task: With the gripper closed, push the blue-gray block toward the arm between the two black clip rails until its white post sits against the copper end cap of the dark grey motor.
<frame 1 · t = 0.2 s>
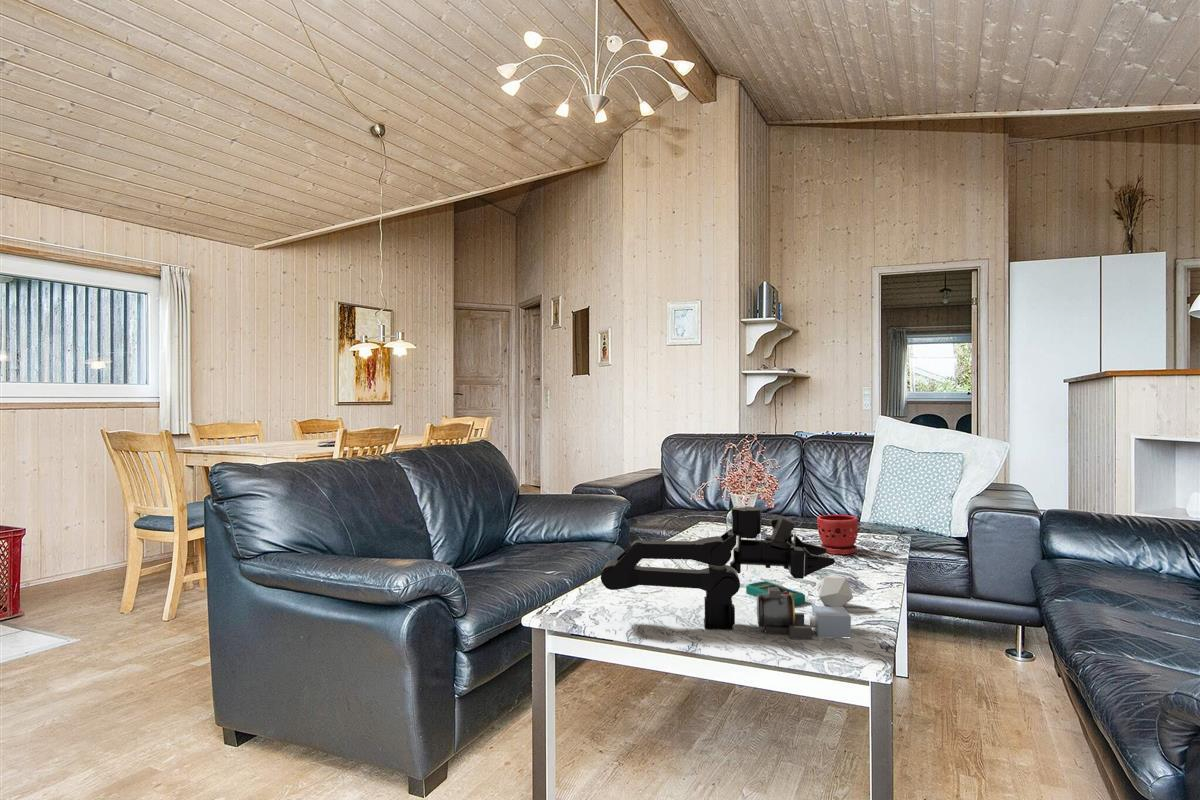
hand: (830, 555, 160), 17 cm above the table, tool horizontal, fingers open, 9 cm apart
blue-gray block: (831, 633, 158), on the table
clip bracket: (799, 631, 159), on the table
motor: (771, 630, 159), on the table
die: (834, 607, 177), on the table
plant pot: (837, 552, 238), on the table
digital multimeter: (775, 600, 185), on the table
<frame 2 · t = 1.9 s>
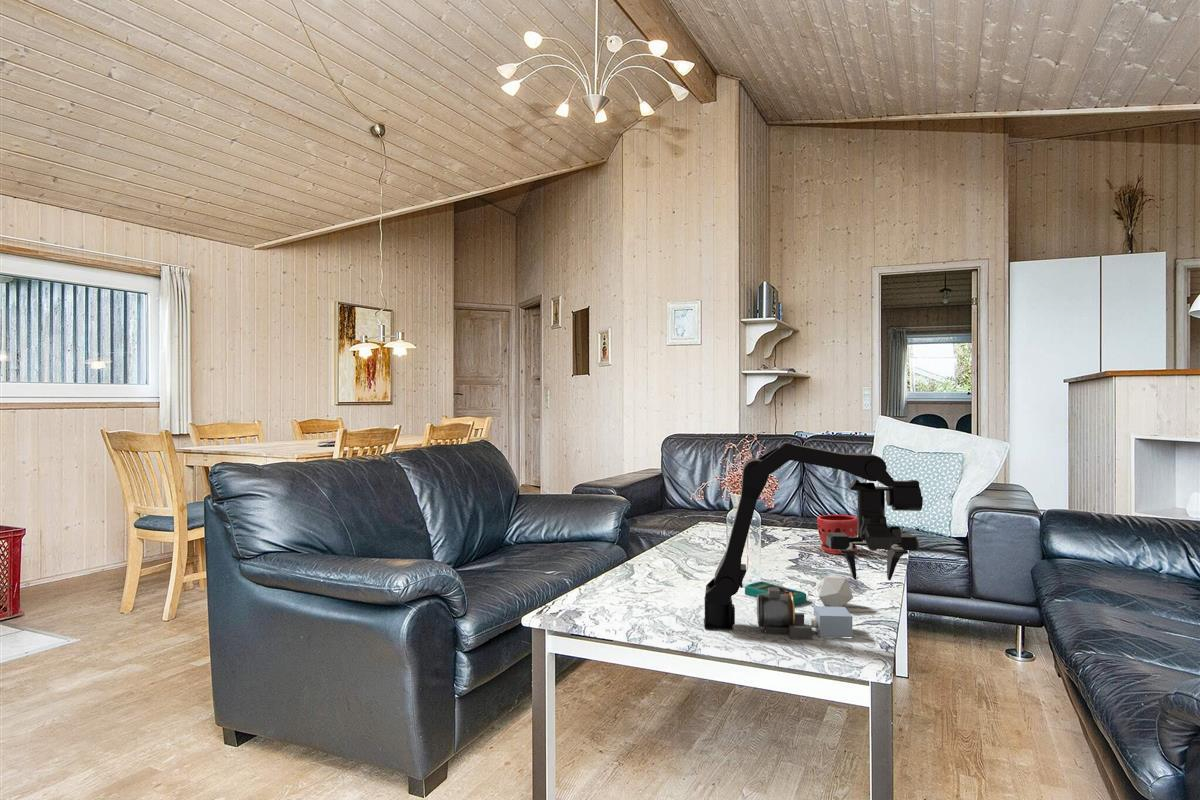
hand: (871, 579, 157), 12 cm above the table, tool pointing down, fingers open, 7 cm apart
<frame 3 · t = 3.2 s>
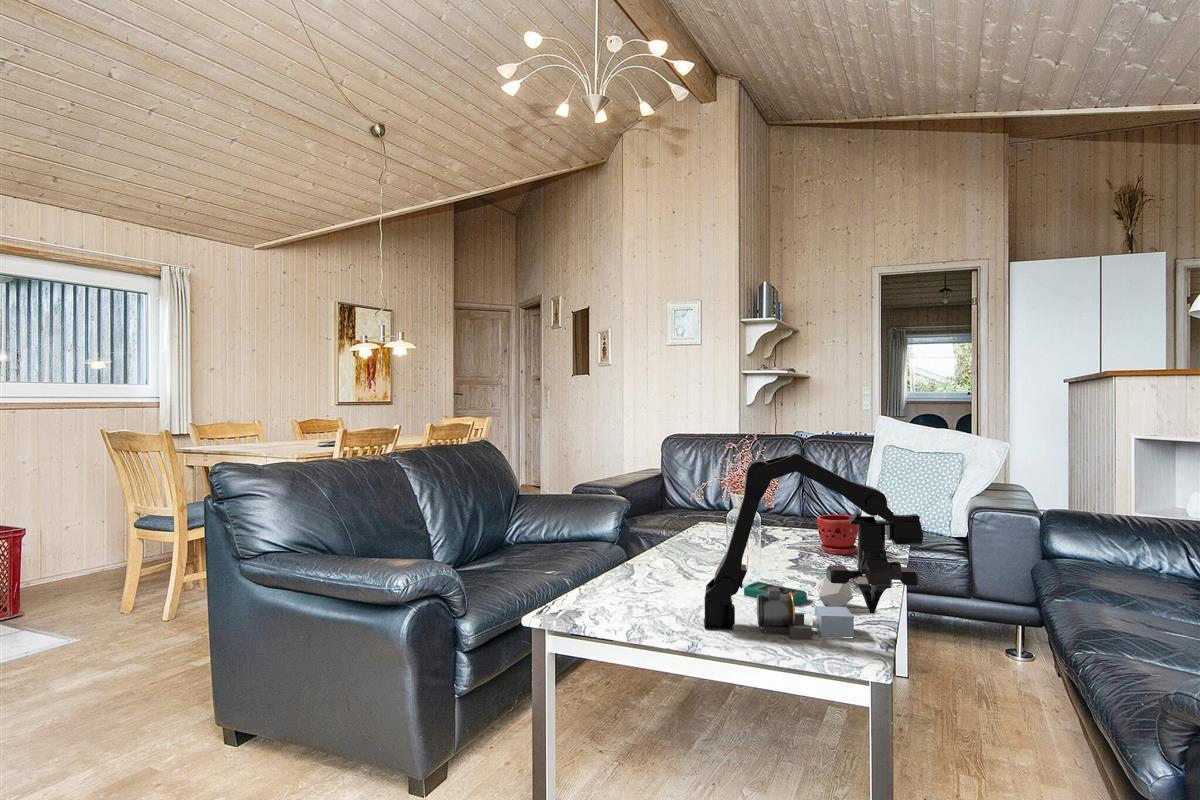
hand: (871, 613, 157), 5 cm above the table, tool pointing down, fingers closed
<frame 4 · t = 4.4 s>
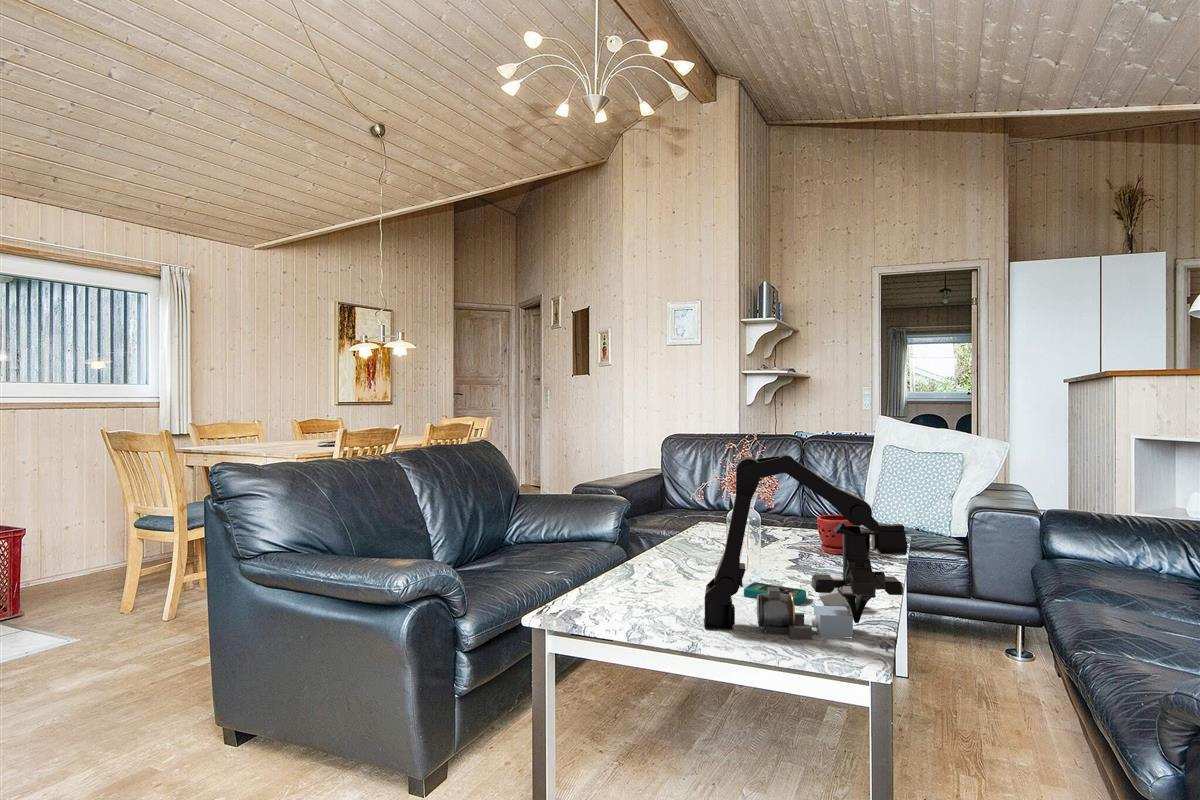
hand: (856, 622, 157), 2 cm above the table, tool pointing down, fingers closed
blue-gray block: (832, 632, 158), on the table, touching gripper
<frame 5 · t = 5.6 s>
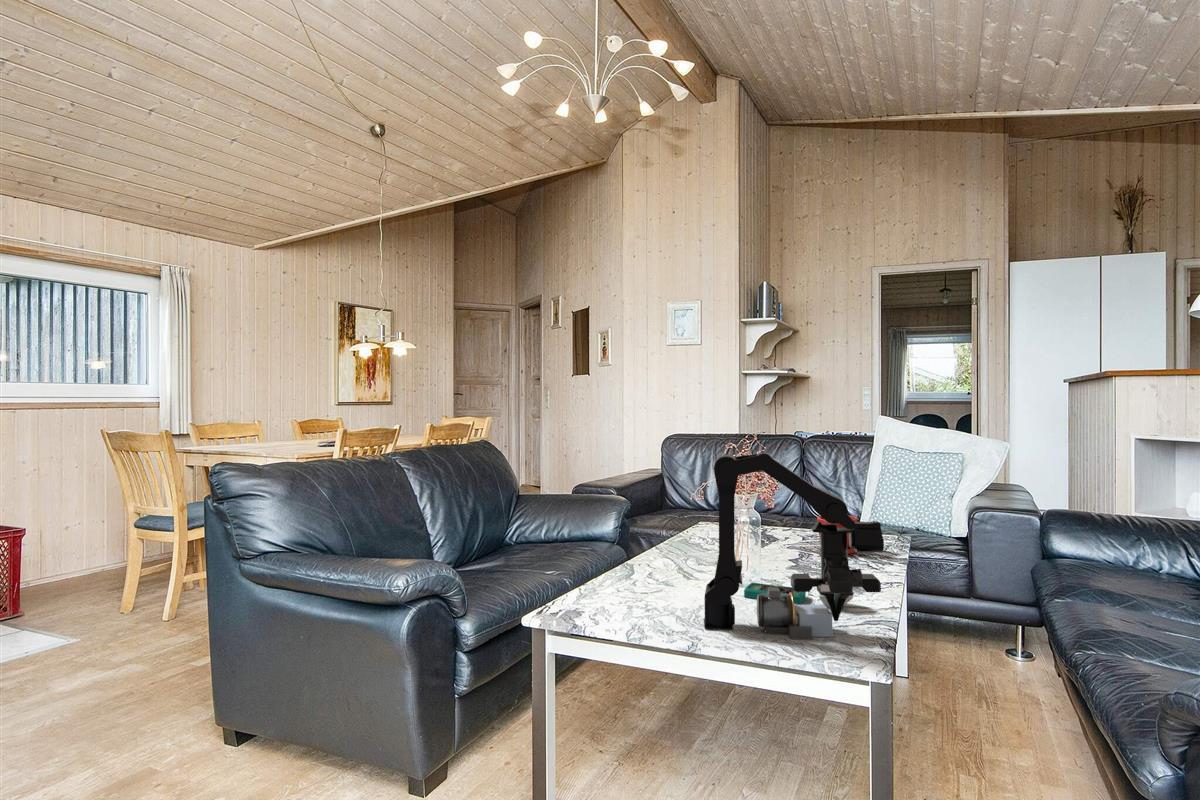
hand: (835, 620, 158), 3 cm above the table, tool pointing down, fingers closed
blue-gray block: (813, 631, 158), on the table, touching gripper, motor
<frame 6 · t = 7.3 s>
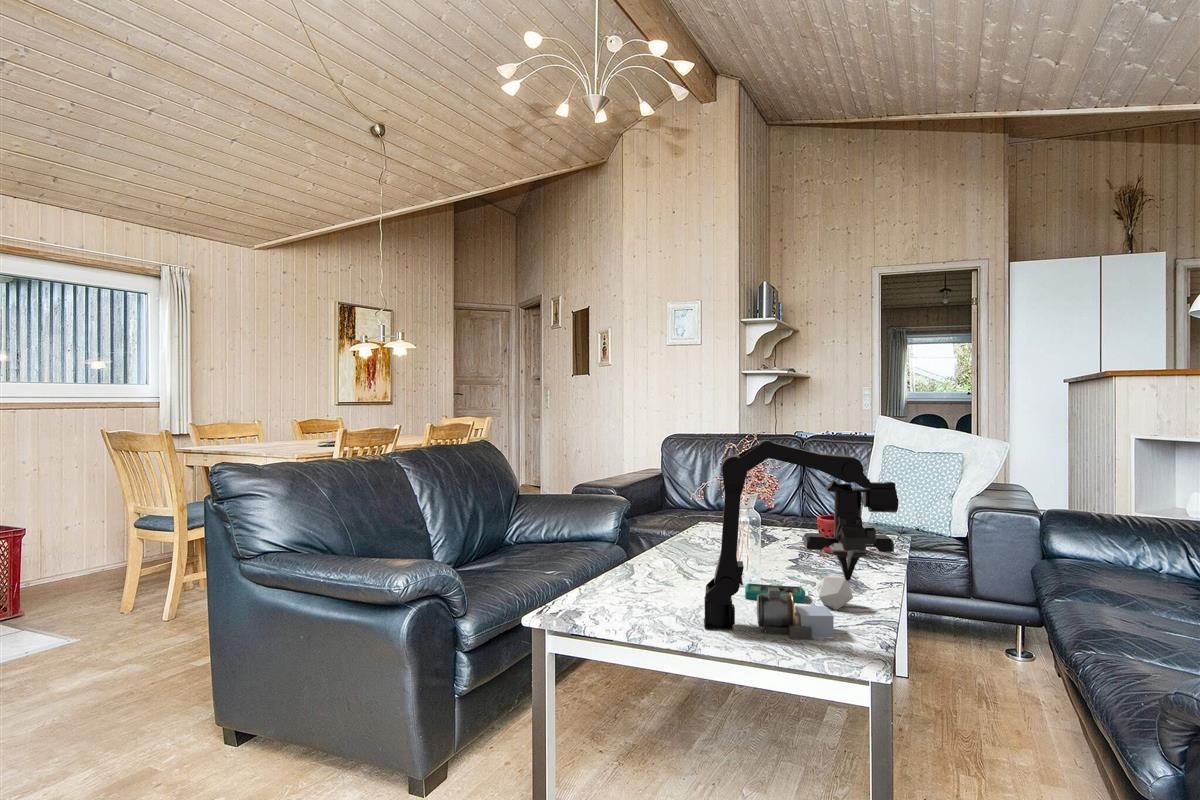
hand: (847, 580, 158), 12 cm above the table, tool pointing down, fingers closed
blue-gray block: (814, 632, 158), on the table
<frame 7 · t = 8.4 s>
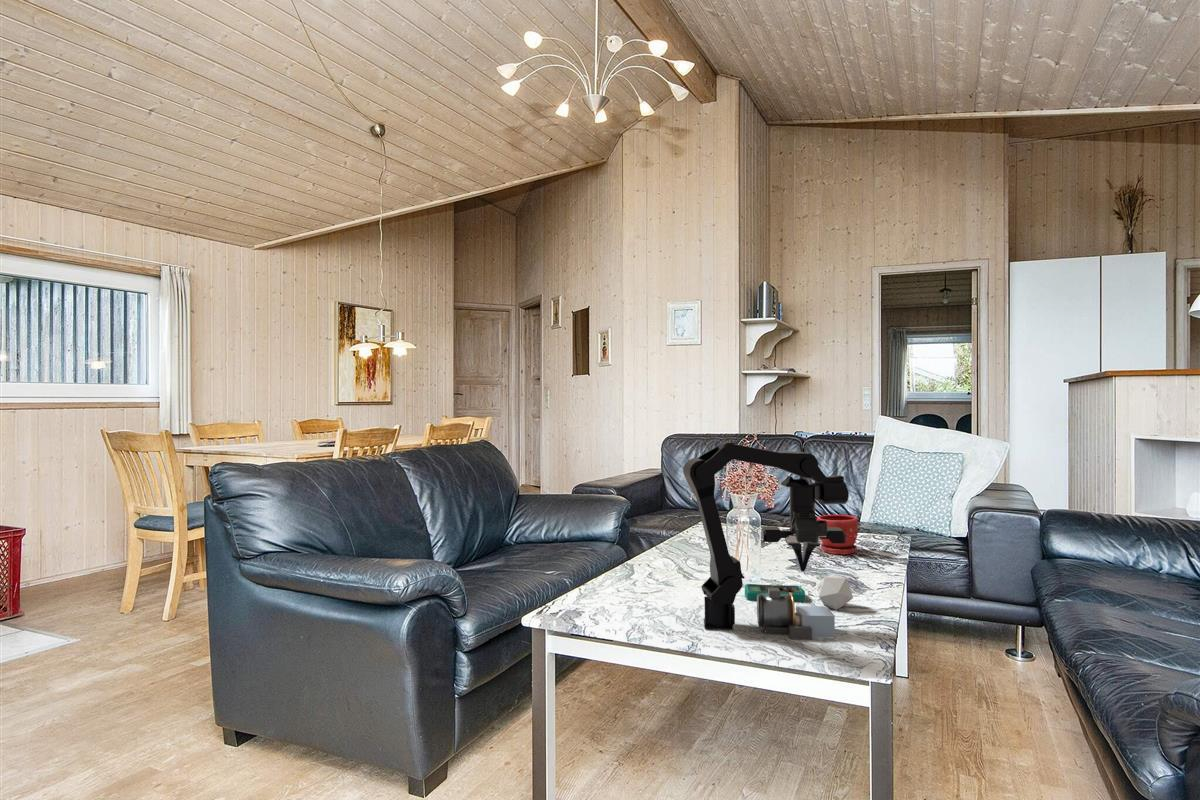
hand: (802, 570, 165), 12 cm above the table, tool pointing down, fingers closed
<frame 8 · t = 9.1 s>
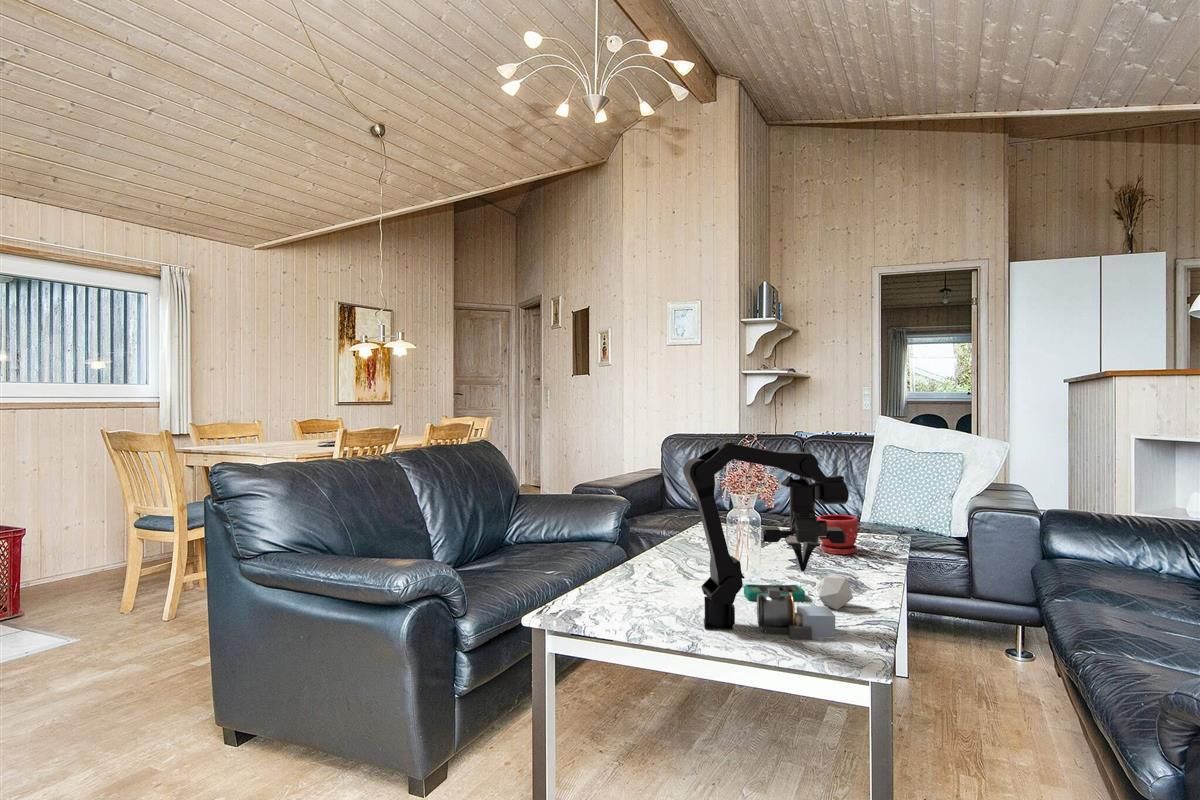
hand: (802, 570, 165), 12 cm above the table, tool pointing down, fingers closed
at the end: blue-gray block 0.2 cm from the target spot on the motor, point 0.0 cm above the motor's base; blue-gray block tilted 0° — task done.
